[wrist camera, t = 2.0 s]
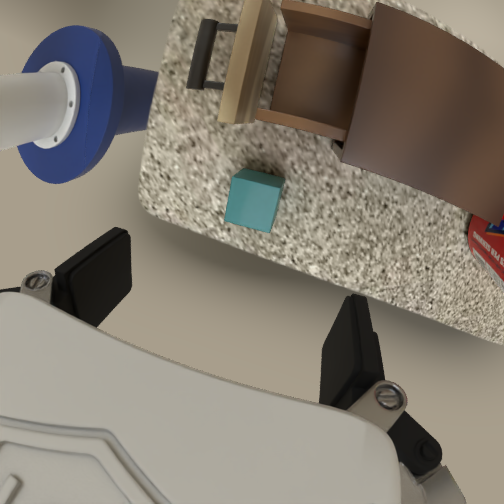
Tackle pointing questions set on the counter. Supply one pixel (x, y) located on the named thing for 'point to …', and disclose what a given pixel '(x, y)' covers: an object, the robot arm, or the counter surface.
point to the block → (254, 199)
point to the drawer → (288, 66)
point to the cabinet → (429, 114)
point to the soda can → (488, 247)
